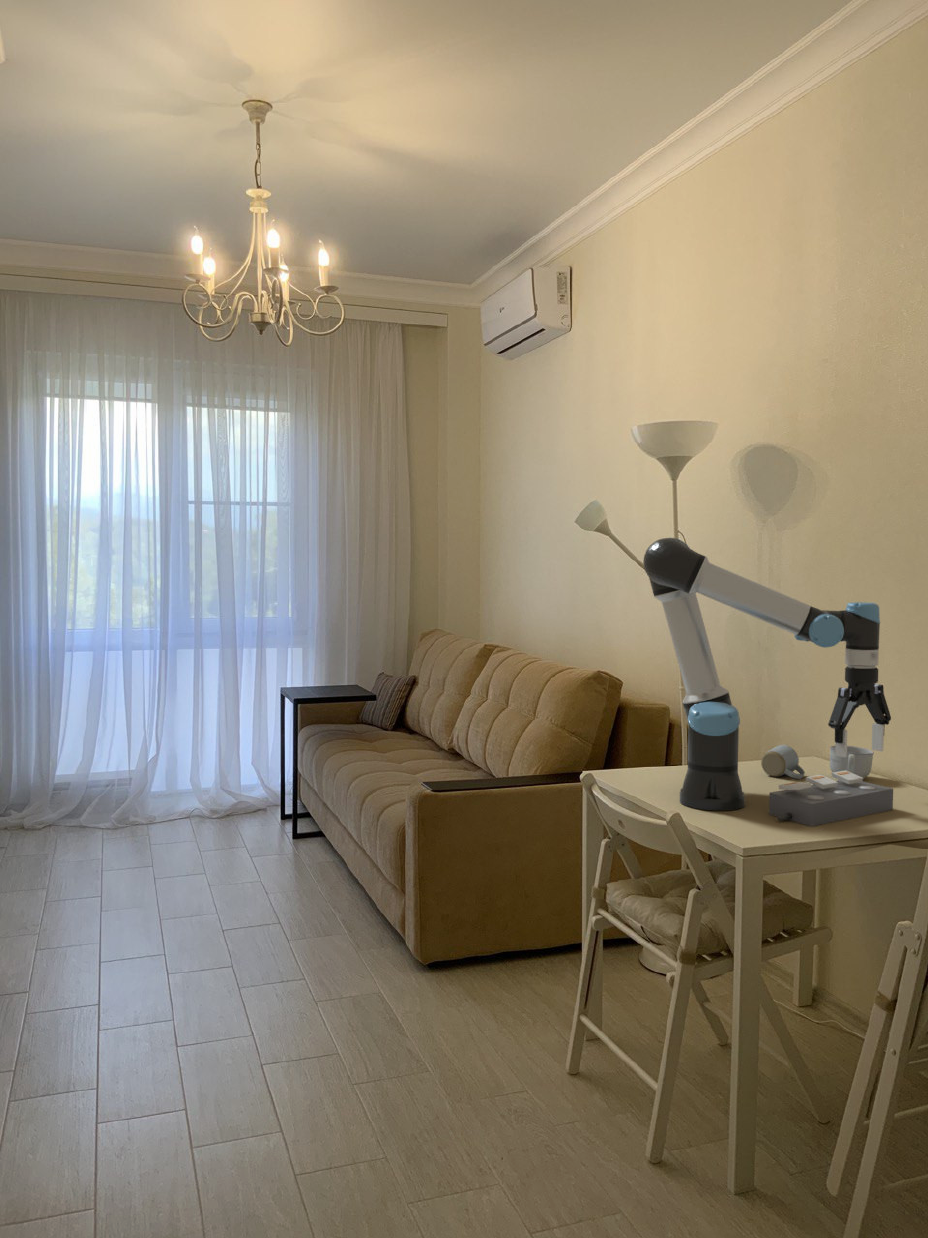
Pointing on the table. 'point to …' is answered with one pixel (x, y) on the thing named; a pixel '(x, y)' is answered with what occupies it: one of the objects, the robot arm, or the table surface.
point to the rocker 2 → (821, 781)
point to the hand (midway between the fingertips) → (859, 753)
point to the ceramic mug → (782, 762)
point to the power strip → (830, 803)
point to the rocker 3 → (847, 777)
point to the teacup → (852, 761)
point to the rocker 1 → (794, 786)
